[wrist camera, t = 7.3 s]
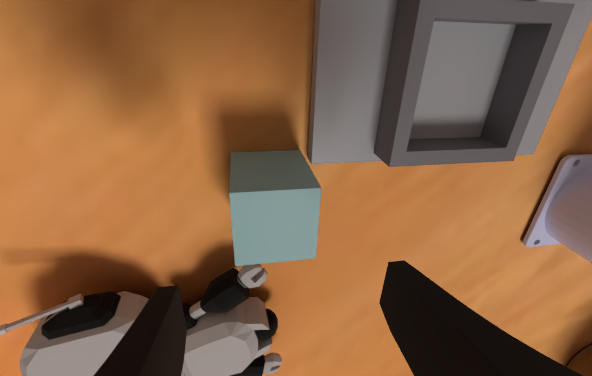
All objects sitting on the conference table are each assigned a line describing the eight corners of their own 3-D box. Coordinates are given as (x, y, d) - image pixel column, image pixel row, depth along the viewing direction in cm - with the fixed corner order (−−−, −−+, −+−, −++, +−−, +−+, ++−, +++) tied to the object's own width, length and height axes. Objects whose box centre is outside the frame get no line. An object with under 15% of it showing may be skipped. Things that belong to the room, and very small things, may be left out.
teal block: (299, 149, 17) (321, 187, 13) (297, 207, 19) (315, 258, 15) (230, 151, 17) (229, 192, 12) (235, 211, 19) (235, 266, 14)
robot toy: (260, 228, 21) (16, 281, 18) (271, 273, 17) (-39, 350, 14) (279, 339, 26) (97, 392, 24) (291, 391, 23) (75, 462, 20)
